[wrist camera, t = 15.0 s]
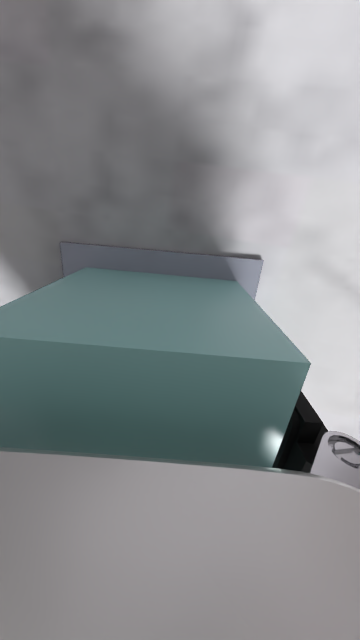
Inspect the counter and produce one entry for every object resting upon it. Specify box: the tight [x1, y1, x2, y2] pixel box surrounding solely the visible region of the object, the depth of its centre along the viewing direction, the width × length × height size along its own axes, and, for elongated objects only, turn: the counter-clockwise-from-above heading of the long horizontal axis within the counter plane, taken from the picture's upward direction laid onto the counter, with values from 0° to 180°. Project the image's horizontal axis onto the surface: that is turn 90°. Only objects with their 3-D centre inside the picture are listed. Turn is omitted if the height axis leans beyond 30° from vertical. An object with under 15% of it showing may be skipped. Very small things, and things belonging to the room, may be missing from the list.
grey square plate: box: [60, 242, 264, 301], centre depth 13 cm, size 10×10×1 cm
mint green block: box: [0, 267, 311, 468], centre depth 10 cm, size 8×8×8 cm
